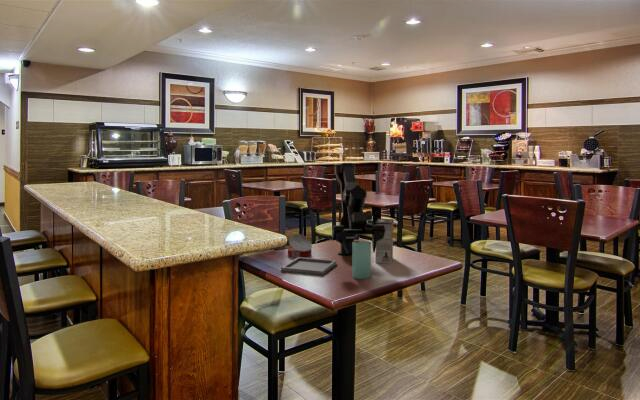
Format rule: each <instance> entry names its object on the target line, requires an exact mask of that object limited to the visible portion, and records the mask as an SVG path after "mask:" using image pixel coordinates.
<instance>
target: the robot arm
mask: <svg viewBox="0 0 640 400" xmlns="http://www.w3.org/2000/svg"><path fill="white" fill-rule="evenodd" d="M355 174H356V165H355V164H354V163H353V162H342V163H337V164H335V166H334V175H335V179H336V182H337V183H338V184H339V185H340V198H341V199H340V201H341V202H340V203H341V214H342V216H341V218H340V221H339V222H338V225H333V226H332V231H331V238H332V240H333V241H335V242H337V243H339V244H340V251H339V252H337V255H342V256H352V242H354V241H359V239H360V236H366V235H367V236H368V235H370V236H371V248H372V252H373V253H375V254H376V243H377V241H380V239H383V237H384V234H385V226H384V225H376V224H373V226H372V228H367V226H368V221H372V220H373V212H372V210H366V211H364V206H365V203H366V200H367V191H366V189H365V188H363V187H362V186H361V185H360V184H358V183H357V180H356V176H355Z"/></svg>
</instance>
